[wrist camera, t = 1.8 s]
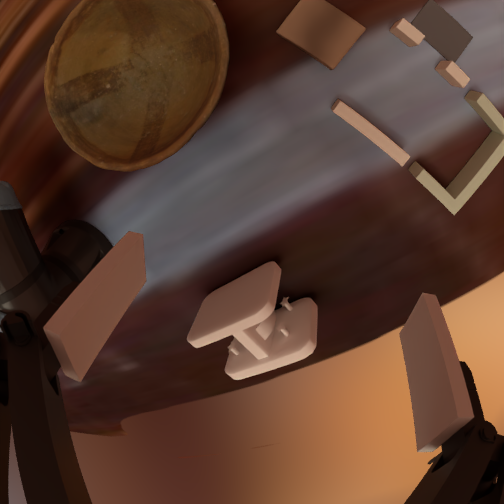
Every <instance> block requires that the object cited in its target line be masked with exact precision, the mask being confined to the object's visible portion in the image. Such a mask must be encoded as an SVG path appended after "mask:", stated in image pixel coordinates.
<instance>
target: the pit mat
mask: <svg viewBox="0 0 504 504" xmlns="http://www.w3.org/2000/svg"><path fill="white" fill-rule="evenodd" d="M411 25H413V26H414V27H415V28H416V29H417V30H419V31H420V32H421V33H422V34H423V35H425V37H424V38H423V39H424V40H426V41H427V42H428V43H429V44H430V45H431V46H432V47H433V48H435V49H436V50H437V51H438V52H439V53H440V54H441V55H442V56H443V57H444V58H445V59H446V60H447V61H453V62H454V63H455V62H456V60H457V59H458V58H459V56H460V55H461V53H462V52H463V51H464V49H465V48H466V47H467V45H468V44H469V42H470V41H471V40H472V38H473V37H472V36H471V35H470V34H469V33H468V32H467V31H466V30H465V29H464V28H463V27H462V26H461V25H460V24H459V23H458V22H457V21H456V20H455V19H454V18H453V17H452V16H450V15H449V14H448V13H447V12H446V11H445V10H444V9H443V8H441V7H440V6H439V5H438V4H437V3H436V2H434V1H433V0H429V1H428V2H427V3H426V4H425V6H424V7H423V8H422V10H421V11H420V12H419V14H418V15H417V16H416V17H415V19H414V20H413V21H412V23H411Z"/></svg>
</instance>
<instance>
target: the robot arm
mask: <svg viewBox="0 0 504 504" xmlns="http://www.w3.org/2000/svg"><path fill="white" fill-rule="evenodd" d="M145 282H146V271H145V258H144V243H143V234H139V233H135V232H130V231H129V232H128V233H127V234H126V235H125V236H124V237H123V238H122V239H121V240H120V241H119V242H118V243H117V244H116V245H115V246H114V247H112V246H111V244H110V243H109V241H108V240H107V239H106V238H105V237H104V235H103V234H102V233H101V232H99V231H98V230H97V229H96V228H94V227H93V226H91V225H90V224H88V223H85V222H83V221H79V220H69V221H66V222H64V223H62V224H61V225H60V226H59V227H57V228H56V229H55V230H54V231H53V233H52V234H51V236H50V238H49V240H48V242H47V243H46V245H45V247H44V249H43V251H42V253H41V254H40V251H39V249H38V247H37V245H36V243H35V240H34V238H33V236H32V234H31V231H30V229H29V226H28V224H27V221H26V219H25V216H24V213H23V211H22V205H20V204H19V201H18V199H17V197H16V195H15V192H14V190H13V187H12V186H11V185H10V184H9V183H8V182H5V181H0V504H9V498H8V468H9V447H10V434H11V424H12V431H13V438H14V444H15V450H16V456H17V462H18V467H19V472H20V477H21V481H22V485H23V490H24V493H25V497H26V501H27V504H92V502H91V499H90V497H89V494H88V491H87V488H86V485H85V482H84V479H83V476H82V473H81V470H80V467H79V464H78V460H77V457H76V453H75V450H74V446H73V442H72V439H71V435H70V431H69V427H68V422H67V418H66V413H65V409H64V404H63V399H62V394H61V388H60V382H59V377H58V375H57V372H58V370H59V369H60V367H61V368H62V370H63V372H64V374H65V375H66V376H68V377H70V378H72V379H74V380H77V381H79V382H81V380H82V379H83V377H84V375H85V374H86V372H87V371H88V369H89V367H90V366H91V364H92V362H93V361H94V359H95V358H96V356H97V354H98V353H99V351H100V350H101V348H102V347H103V345H104V343H105V342H106V340H107V339H108V337H109V336H110V334H111V333H112V331H113V330H114V328H115V327H116V325H117V323H118V322H119V320H120V319H121V317H122V316H123V314H124V313H125V311H126V310H127V308H128V307H129V305H130V304H131V303H132V301H133V300H134V298H135V297H136V295H137V294H138V292H139V291H140V289H141V288H142V287H143V285H144V284H145ZM400 339H401V344H402V349H403V354H404V360H405V365H406V371H407V376H408V382H409V389H410V395H411V402H412V409H413V417H414V424H415V434H416V443H417V452H431V451H432V452H433V451H434V450H435V449H437V448H438V447H439V446H442V452H441V453H440V454H438V455H437V456H436V457H434V458H433V459H431V460H430V461H429V462H428V464H431V463H432V462H433V464H432V465H431V467H430V468H429V470H428V472H427V473H426V474H425V476H424V477H423V479H422V480H421V482H420V483H419V484H418V486H417V487H416V488H415V490H414V491H413V492H412V494H411V495H410V496H409V498H408V499H407V500H406V502H405V503H404V504H504V436H502V435H499V434H497V431H496V429H495V427H494V426H493V425H492V424H491V423H490V422H488V421H485V420H484V415H483V411H482V408H481V404H480V400H479V396H478V393H477V391H476V390H477V389H476V386H475V383H474V379H473V376H472V372H471V370H470V369H469V367H468V366H467V364H466V363H465V362H462V361H459V359H458V356H457V353H456V350H455V347H454V344H453V341H452V338H451V335H450V332H449V330H448V327H447V324H446V321H445V318H444V316H443V313H442V310H441V308H440V305H439V303H438V300H437V297H436V295H431V294H427V293H422V295H421V296H420V298H419V300H418V302H417V304H416V306H415V308H414V309H413V311H412V313H411V315H410V317H409V318H408V320H407V322H406V324H405V325H404V327H403V329H402V330H401V332H400ZM497 477H498V478H497ZM496 478H497V483H496Z"/></svg>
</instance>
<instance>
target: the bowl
mask: <svg viewBox="0 0 504 504" xmlns="http://www.w3.org/2000/svg"><path fill="white" fill-rule="evenodd" d="M229 60H230V48H229V38H228V33H227V28H226V24H225V21H224V19H223V16H222V14H221V11H220V10H219V8H218V7H217V5H216V3H215V1H214V0H82V1H81V2H80V3H79V4H78V5H77V6H76V7H75V8H74V10H73V11H72V12H71V13H70V14H69V16H68V17H67V19H66V20H65V22H64V23H63V25H62V27H61V28H60V30H59V32H58V33H57V35H56V37H55V42H54V44H53V45H52V46H51V48H50V50H49V54H48V60H47V63H46V67H45V75H44V89H45V95H46V101H47V106H48V110H49V113H50V115H51V118H52V120H53V122H54V124H55V126H56V127H57V129H58V131H59V132H60V134H61V135H62V137H63V139H64V141H65V142H66V143H67V144H68V146H69V147H70V148H71V149H72V150H73V151H74V152H76V153H77V154H79V155H80V156H82V157H83V158H85V159H86V160H88V161H89V162H91V163H92V164H94V165H96V166H97V167H100V168H103V169H110V170H116V171H135V170H138V169H144V168H147V167H150V166H153V165H155V164H158V163H160V162H161V161H163V160H164V159H166V158H168V157H170V156H172V155H173V154H175V153H176V152H177V151H179V150H180V149H181V148H182V147H183V146H184V145H185V144H186V143H188V142H189V141H190V140H191V138H192V137H193V136H194V134H195V133H196V132H197V131H198V130H199V129H200V128H201V127H202V126H203V125H204V124H205V123H206V121H207V120H208V118H209V117H210V115H211V114H212V112H213V111H214V109H215V108H216V106H217V104H218V102H219V100H220V97H221V94H222V91H223V89H224V85H225V81H226V77H227V70H228V65H229Z"/></svg>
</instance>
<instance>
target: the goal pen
mask: <svg viewBox="0 0 504 504" xmlns="http://www.w3.org/2000/svg"><path fill="white" fill-rule="evenodd" d="M464 99H465V100H466V101H467V102H468V103H469V104H470V105H471V106H472V108H473V109H474V110H475V111H476V112H477V113H478V114H479V115H480V117H481V118H482V119H483V120H484V121H485V122H486V124H487V125H488V126H489V127H490V128H491V130H492V132H491V133H490V134H489V136H488V137H487V138H486V140H485V141H484V142H483V143H482V145H481V146H480V147H479V149H478V150H477V151H476V152H475V154H474V155H473V156H472V157H471V159H470V160H469V161H468V162H467V164H466V165H465V166H464V167H463V169H462V170H461V171H460V172H459V174H458V175H457V176H456V177H455V178H454V180H453V181H452V182H451V183H450V184H449V186H448V187H447V188H446V189H444V188H443V187H442V186H441V185H440V184H439V183H438V182H437V181H436V180H435V179H434V178H433V177H432V176H431V175H430V174H429V173H428V172H427V171H426V170H425V169H424V168H423V167H421V166H420V165H419V164H418V163H417V162H416V161H415V162H414V163H413V164H412V165H411V166H410V168H409V169H408V170H409V171H410V172H411V173H412V175H413V176H414V177H415V178H416V179H417V180H418V181H419V182H420V183H421V184H423V185H424V186H425V187H426V188H427V189H428V190H429V191H430V192H431V193H432V194H433V195H434V196H435V197H436V198H437V199H438V200H439V201H440V202H441V203H442V204H443V205H444V206H445V207H446V208H447V209H448V210H449V211H450V212H451V213H452V214H453V215H455V214H456V213H457V212H458V211H459V209H460V208H461V207H462V206H463V205H464V204H465V203H466V201H467V200H468V199H469V198H470V197H471V196H472V194H473V193H474V192H475V191H476V190H477V188H478V187H479V186H480V185H481V184H482V182H483V181H484V180H485V179H486V177H487V176H488V175H489V174H490V172H491V171H492V170H493V169H494V167H495V166H496V165H497V164H498V162H499V161H500V160H501V158H502V157H503V156H504V118H503V117H502V116H501V114H500V113H499V112H498V111H497V109H496V108H495V107H494V106H493V104H492V103H491V102H490V101H489V100H488V99H487V97H486V96H485V95H484V94H483V93H480V92H476V91H471V90H470V91H469V92H468V94H467V95H466V96H465V98H464Z"/></svg>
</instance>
